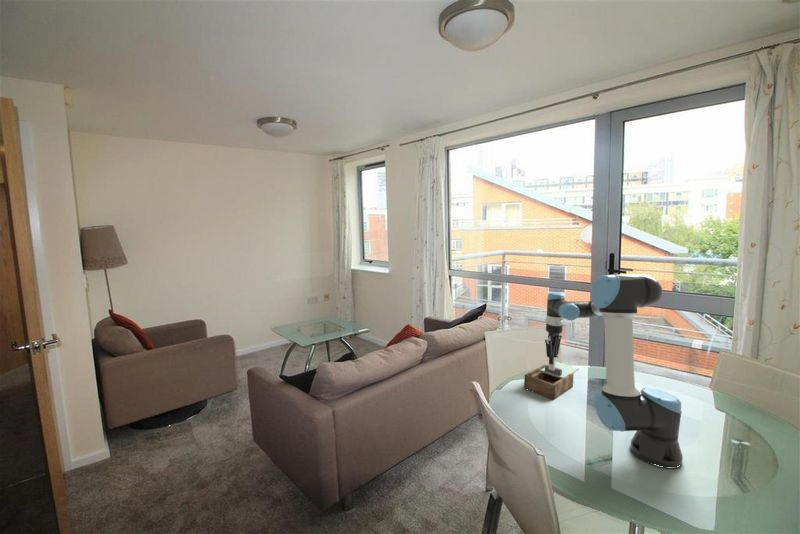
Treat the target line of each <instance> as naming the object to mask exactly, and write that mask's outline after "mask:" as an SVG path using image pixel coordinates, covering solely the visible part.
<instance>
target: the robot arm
mask: <svg viewBox="0 0 800 534" xmlns="http://www.w3.org/2000/svg"><path fill="white" fill-rule="evenodd" d="M662 296H663V287H662V285H661V283H660V282H659V281H658V280H657V279H656V278H654V277H652V276H650V275H646V274H604V275H600V276H599V277H597V279H595V281H594V282H593V285H592V287H591V291H590V297H591V300H589V301H581V300H580V301H568V300H565V299H566V298H565V297H566V296H565V294H564V293H563V292H557V291H555V292H554V291H553V292H551V291H550V292H549V293H547V299H546V302H547V303H546V316H545V318H546V320H545V332H547V333H548V335H547V339H545V340H544V343H545V350H546V357H547V358H548V365H549V368H548V369H549V370H552V371H555V363H556V362H557V360H556V359H557V358H559V353H560V347H561V346H560V345H561V340H562V337H563V336H562V335H561V333H563V330H564V329H563V327H564V326H563V323H564V320H568V321H574V320H576V319H587V318H590V319H592V318H593V319H594V318H596V319H601V318H603V323H604V324H603V325H604V350H605V351H604V352H605V353H604V354H605V373H606V374H605V375H606V376H605V381H606V384H605V385H604V386H602V387H601V394H599V395H597V396H596V397H595V400H594V409H595V412H596V415H597V417H598V419H599V421H600V422H601V424H602V425H603V426H604V427H605V428H606V429H608V430H609V431H613V432H622V433H624V432H633V431H635V433H634V434H633V436H632V438H631V439H630V447H629V448H630V451H631V452H632V453H633V454H634V455H635V456H636V457H637V458H639V459H640V460H641V459H642V460H641V461H643V460H644V461H643V462H645V461H646V462H645V463H647V462H649V463H652V464H656V465H659V466H663V467H677V466H679V465H681V464H683V457H684V456H683V453H682V450H681V446H680V443H679V432H680V426H681V425H680V424H681V417H682V402H681V400H680V399H679V398H678V397H677V396H675V395H673V394H671V393H669V392H667V391H665V390H662V389H658V388H654V387H643V388H642V389H641V390H640V391H639V389H637V388H636V380H635V378H636V376H635V357H634V356H635V355H634V350H635V349H634V326H633V318H634V317H635V316H636V315H638V308H640V309H641V308H642V309H643V308H646V307H651V306H654V305H657V303H659V302H660V300H661V299H662ZM649 463H648V464H649ZM681 466H682V465H681Z"/></svg>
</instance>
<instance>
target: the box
mask: <svg viewBox="0 0 800 534" xmlns="http://www.w3.org/2000/svg"><path fill="white" fill-rule="evenodd" d="M545 365H547V364H546V363H545V364H543V365H541V366H538V367H537V368H535V369H533V370H531V371H529V372H527V373H525V374H524V380H523V381H524V382H523V384H524V385H523V389H524V388H525V389H524V390H526V389H528V390H527V391H529V390H530V391H529V392H531V391H533V392H532V393H534V392H535V393H534V394H536V393H537V395H539V394H540V395H539V396H541V395H542V397H544V398H548V399H550V400H553V401H554V400H556V399H558V398H559V397H561V396H562V395H564V394H565V393H566V392H567V391H569V390H571V389H573V387H574V376H575V375H574V374H575V373H570V374H569V375H567V376H565V377H564V378H562V379H561V378H558V377H555V376H552V375H549V374H546V373H543V372H540V370H541V369H543V368H544V367H545Z"/></svg>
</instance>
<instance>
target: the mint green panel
mask: <svg viewBox="0 0 800 534" xmlns="http://www.w3.org/2000/svg"><path fill="white" fill-rule="evenodd" d="M548 368H549V364H546V365H545V367H544V368H543V369H541V370H540V372H543V373H546V374H549V375H552V376H555V377H558V378H561V379H562V378H564V377H565V376H567V375H569V374H570V373H574V374H575V373H576V372H579V370H580V368H579V367H576V366H572V365H568V364H566V363H562V362H559V361H556V363H555V371H552V370H549V369H548Z"/></svg>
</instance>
